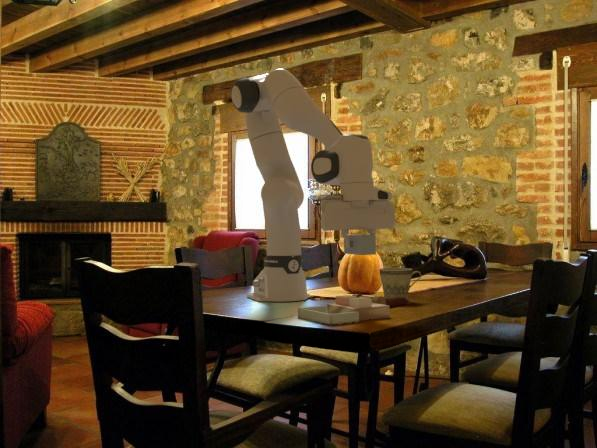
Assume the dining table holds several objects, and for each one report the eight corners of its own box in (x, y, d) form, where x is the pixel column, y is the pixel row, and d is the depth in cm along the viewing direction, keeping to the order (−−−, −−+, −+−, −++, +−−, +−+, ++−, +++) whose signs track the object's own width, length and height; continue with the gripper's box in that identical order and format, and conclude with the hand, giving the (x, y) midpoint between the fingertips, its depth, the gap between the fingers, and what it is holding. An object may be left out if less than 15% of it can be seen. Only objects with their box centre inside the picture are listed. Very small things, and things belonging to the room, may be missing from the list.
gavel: (397, 292, 186) (424, 295, 179) (397, 307, 186) (423, 311, 179) (349, 293, 173) (375, 296, 165) (348, 309, 173) (375, 313, 165)
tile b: (349, 306, 155) (349, 298, 155) (361, 305, 158) (361, 297, 158) (359, 307, 152) (359, 299, 152) (371, 306, 154) (371, 298, 154)
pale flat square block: (327, 315, 160) (327, 304, 160) (360, 312, 166) (360, 300, 166) (355, 321, 150) (355, 309, 150) (389, 317, 156) (389, 305, 156)
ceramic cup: (383, 303, 183) (383, 270, 183) (376, 299, 193) (376, 268, 193) (426, 302, 185) (425, 269, 185) (416, 298, 194) (416, 267, 194)
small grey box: (376, 254, 156) (375, 234, 156) (361, 255, 154) (360, 235, 154) (357, 252, 167) (357, 234, 167) (344, 253, 166) (343, 235, 166)
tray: (297, 317, 157) (297, 308, 157) (325, 315, 161) (325, 305, 161) (330, 325, 144) (330, 314, 144) (358, 322, 149) (358, 311, 149)
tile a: (335, 303, 161) (335, 296, 161) (348, 302, 163) (347, 295, 163) (344, 305, 157) (344, 297, 157) (357, 304, 159) (357, 296, 159)
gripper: (324, 194, 155) (326, 249, 155) (397, 193, 161) (399, 245, 161) (316, 196, 161) (318, 248, 161) (386, 194, 167) (388, 245, 167)
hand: (359, 247), depth 161 cm, fingers closed on small grey box, 4 cm apart
